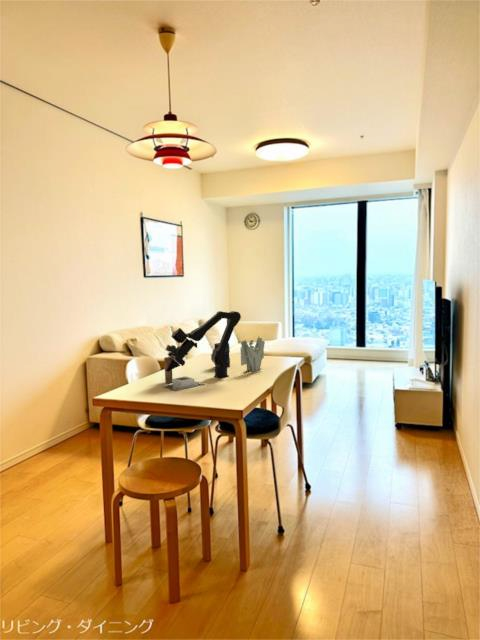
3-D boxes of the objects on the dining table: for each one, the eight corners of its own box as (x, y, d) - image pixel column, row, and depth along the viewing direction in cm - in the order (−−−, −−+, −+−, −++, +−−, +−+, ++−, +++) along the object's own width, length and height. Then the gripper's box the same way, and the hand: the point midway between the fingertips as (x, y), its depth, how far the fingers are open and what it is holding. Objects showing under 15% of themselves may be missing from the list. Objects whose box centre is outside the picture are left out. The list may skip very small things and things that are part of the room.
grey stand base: (191, 381, 246) (190, 374, 246) (203, 384, 237) (203, 377, 236) (163, 387, 234) (162, 379, 234) (175, 391, 225) (174, 383, 225)
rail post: (171, 381, 247) (170, 356, 246) (173, 383, 244) (172, 357, 242) (164, 382, 246) (163, 357, 245) (166, 383, 242) (165, 358, 241)
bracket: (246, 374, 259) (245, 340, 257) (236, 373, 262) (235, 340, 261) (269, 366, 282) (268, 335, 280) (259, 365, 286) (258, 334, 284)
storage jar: (212, 368, 282) (211, 344, 281) (217, 365, 292) (217, 342, 290) (227, 368, 280) (226, 345, 278) (232, 365, 289) (231, 342, 288)
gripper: (170, 337, 253) (151, 358, 250) (178, 341, 235) (158, 363, 232) (184, 350, 256) (166, 370, 253) (193, 354, 239) (173, 377, 236)
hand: (165, 370), depth 244 cm, fingers closed on rail post, 4 cm apart
